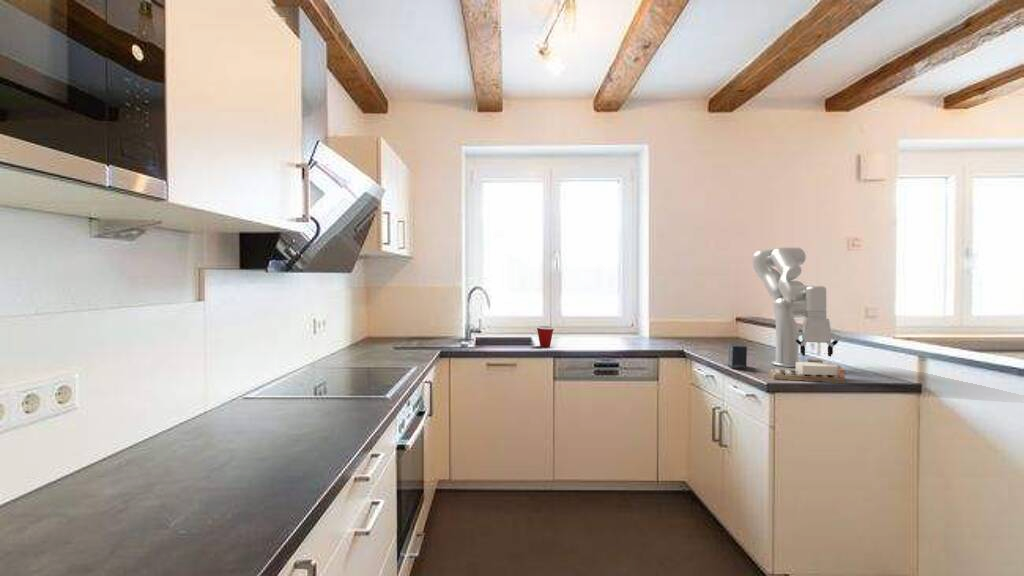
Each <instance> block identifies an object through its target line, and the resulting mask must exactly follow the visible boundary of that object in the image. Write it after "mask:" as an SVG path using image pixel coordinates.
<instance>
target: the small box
mask: <svg viewBox="0 0 1024 576" xmlns="http://www.w3.org/2000/svg"><path fill="white" fill-rule="evenodd" d="M747 349H748V346H746V345H745V344H742V343H734V342H732V343H731V342H727V366H728V367H729V368H730V369H732V370H747V360H748V359H747V357H748V356H747V354H748V353H747V352H748V350H747Z"/></svg>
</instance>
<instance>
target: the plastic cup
mask: <svg viewBox="0 0 1024 576" xmlns="http://www.w3.org/2000/svg"><path fill="white" fill-rule="evenodd" d="M535 327H536V329H537V335H538V340H539V346H540V348H550V347H551V344H552V343H551V342H552V339H553V333H554V330H555V326H552V325H542V324H541V325H536V326H535Z"/></svg>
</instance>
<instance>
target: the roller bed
mask: <svg viewBox="0 0 1024 576" xmlns="http://www.w3.org/2000/svg"><path fill="white" fill-rule="evenodd" d="M835 365H836V364H835ZM836 366H838V367H839V374H838V375H809V374H801V373H800V372H798V371H796V369H795V370H792V369H787V368H786V369H779V368H774V369H773V368H771V369H769V370H770V371H769V374H770V373H771V374H770V375H771V377H772V379H773V378H774V379H773V380H782V379H788V380H787V381H798V380H805V381H804V382H814V381H823V382H822V383H831V382H834V383H835V384H846V378H845V376H846V375H845V373H846V371H845V369H844V368H842V367H841V366H840V365H836ZM784 374H786V375H784ZM805 375H807V376H805Z"/></svg>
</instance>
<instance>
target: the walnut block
mask: <svg viewBox="0 0 1024 576" xmlns="http://www.w3.org/2000/svg"><path fill="white" fill-rule="evenodd" d="M806 359H807V360H806V362H817V363H824V360H822V359H814V358H813V359H808V358H806Z"/></svg>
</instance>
